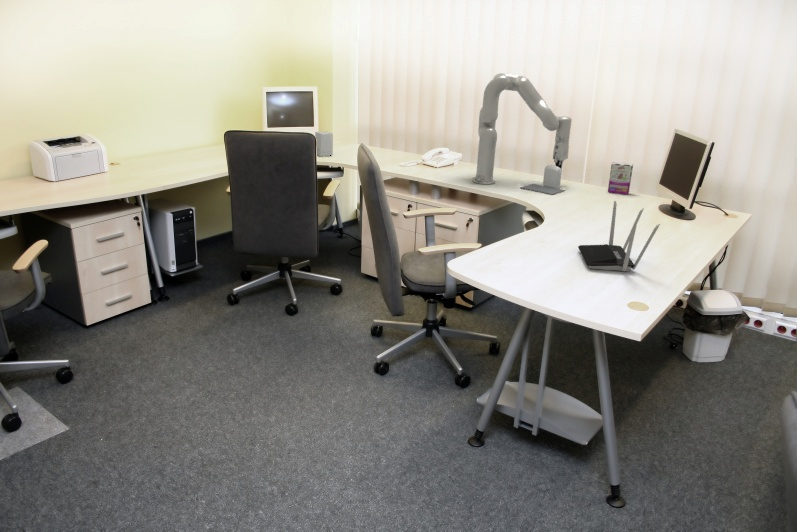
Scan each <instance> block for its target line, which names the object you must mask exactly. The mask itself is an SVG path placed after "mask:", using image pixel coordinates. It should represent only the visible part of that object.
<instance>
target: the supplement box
mask: <svg viewBox="0 0 797 532" xmlns="http://www.w3.org/2000/svg"><path fill="white" fill-rule="evenodd" d="M314 134H315V135H314V137H315V136H316V139H317V154H318V155H317V156H318V157H321V156H325V157H331V156H330V155H334V154H333V153H334V150H333V149H334V148H333V146H334V145H333V144H334V143H333V142H334V139H333V138H334V133H333V132H330V131H314Z"/></svg>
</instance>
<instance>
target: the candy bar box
mask: <svg viewBox="0 0 797 532" xmlns="http://www.w3.org/2000/svg"><path fill="white" fill-rule="evenodd" d="M633 168H634V164H633V163H626V162H625V163H624V162H615V161H613V162H612V163H611V166H610V174H609V181H608V186H607V193H608V192H609V193H610V194H617V195H618V194H619V195H627V196H628V195H629V193H630V189H631V181H632V175H633V174H632V173H633Z"/></svg>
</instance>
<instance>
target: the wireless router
mask: <svg viewBox="0 0 797 532" xmlns="http://www.w3.org/2000/svg"><path fill="white" fill-rule="evenodd" d="M617 206H618V205H617V201H616V200H614V201H613V206H612V214H611V225H610V229H609V230H610V232H609V240H608V243H606V244H604V243H603V244H584V245H583V244H580V245H578V246H577V247H578V250H579V252H580V254H581V256H582V258H583V259H584V261H585V263H586V265H587V267H588V269H590V270H591V269H592V270H593V269H594V270H604V271H605V270H606V271H607V270H608V271H619V272H620V271H621V272H629V270H630V269H632V270H636V268H637V267H638V264H639V263H640V261H641V259H642V257H643V256H644V254H645V252H646V250H647V249H648V247H649V245H650V244H651V242H652V240H653V237H654V236H655V234H656V232H657V231H658V229H659V227H660V226H661V224H660V223H659V224H657V225H655V227H654V229H653V230H652V232H651V234H650V236H649V237H648V239H647V241H646V242H645V244H644V246H643V248H642V249H641V251H640V253H639V254H638V257H637V259H636V260H635V261H634V262H633V261H632V259H631V258H630V256H631V252H632V247H633V244H634V239H635V234H636V230H637V224H638V223H639V221H640V218H641V215H642V213H643V212H644V210H645V208H644V207H643V208H642V209H640V211H639V212H638V214H637V217H636V219H635V221H634V223H633V224H632V228H631V230H630V232H629V234H628V236H627V239H626V240H625V243H624V245H623V247H622V246H621V245H617V244H614V237H615V226H616V225H615V224H616V218H617V217H616V216H617ZM626 249H627V250H626Z"/></svg>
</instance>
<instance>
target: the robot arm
mask: <svg viewBox="0 0 797 532" xmlns="http://www.w3.org/2000/svg"><path fill="white" fill-rule="evenodd" d="M503 91H513V92H517V94H518V95H519V96H520V97H521V99H522V100H523V101H524V102H525V104H526V105H527V106H528V109H530V111H532V112H533V113H534V114H535V116H537V117H538V118H539V120H540V121H541V122H542V126H543V127H544V128H545V129H547V130H548V131H549V132H555V137H554V138H555V140H554V147H553V153H552V160H553V163H555V164H554V165H555V166H558V167H559V168H561V170H562V168H563V163H564V161H565V160H567V159H568V157H569V148H570V145H569V144H570V135H571V127H572V117H570V116H564V115H563V116H557V115H555V113H554V111H552V109H551V108H550V107H549V105H548V104H547V102H546V100H545V99H544V98H543V96H542V95H541V94H540V93H539V92H538V90H537V89H536V87H535V86H534V84H533V83H532V82H531V80H530V79H529V78H527V77H526V76H523V75H515V74H509V73H497V74H495V75H494V77H493V78H492V79H491V80H490V82H488V84H487V85H486V86H485V89H484V91H483V92H484V93H483V96H482V97H483V98H482V107H481V109H480V110H479V116H478V129H477V133H478V137H479V142H478V150H477V164H476V173H475V176H473V177H472V178H471V180H472V181H473V183H475V184H479V185H493V184H495V183H496V180H495V179H494V168H495V158H496V147H497V141H498V132H497V130H496V121H497V119H498V116H499V100H500V95H501V93H502V92H503Z"/></svg>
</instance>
